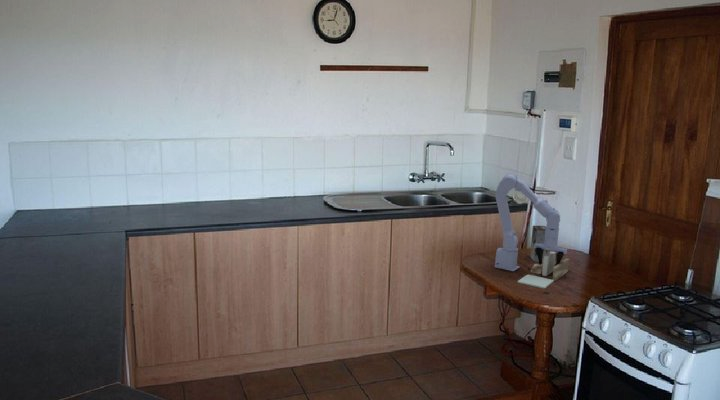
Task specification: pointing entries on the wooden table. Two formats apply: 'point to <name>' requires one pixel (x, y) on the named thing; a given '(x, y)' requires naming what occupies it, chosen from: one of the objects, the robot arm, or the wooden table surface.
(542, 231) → the coffee box
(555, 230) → the robot arm
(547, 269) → the gray rectangular slab
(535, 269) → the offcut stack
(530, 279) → the mat
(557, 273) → the corner fence
